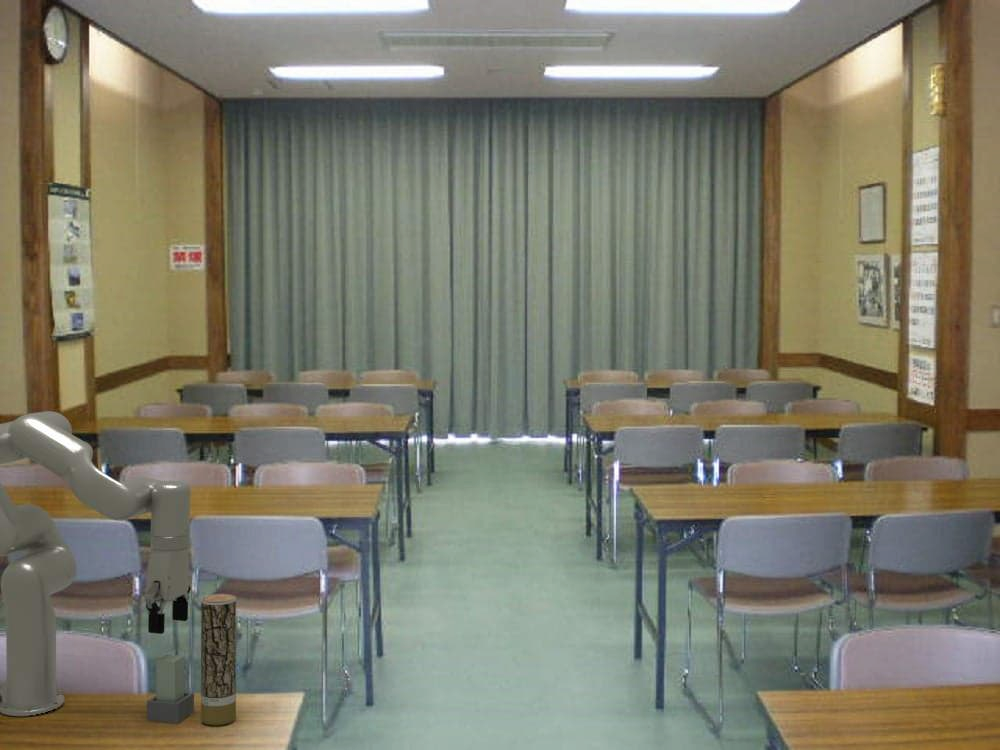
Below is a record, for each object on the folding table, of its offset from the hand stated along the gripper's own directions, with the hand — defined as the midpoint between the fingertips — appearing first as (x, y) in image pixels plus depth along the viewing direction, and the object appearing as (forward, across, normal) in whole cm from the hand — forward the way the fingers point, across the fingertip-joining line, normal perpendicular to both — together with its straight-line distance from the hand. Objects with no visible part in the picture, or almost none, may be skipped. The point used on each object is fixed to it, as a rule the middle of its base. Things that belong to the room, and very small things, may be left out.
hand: (168, 626), depth 224 cm
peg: (+18, 0, +1) cm, 19 cm away
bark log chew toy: (+18, 0, +11) cm, 22 cm away
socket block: (+18, 0, +1) cm, 19 cm away
